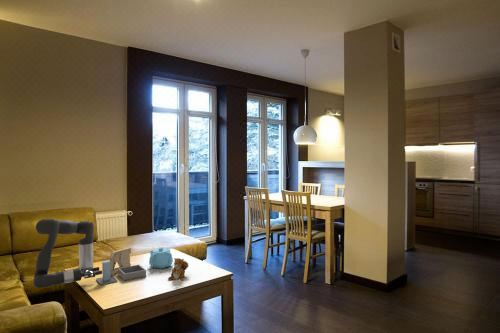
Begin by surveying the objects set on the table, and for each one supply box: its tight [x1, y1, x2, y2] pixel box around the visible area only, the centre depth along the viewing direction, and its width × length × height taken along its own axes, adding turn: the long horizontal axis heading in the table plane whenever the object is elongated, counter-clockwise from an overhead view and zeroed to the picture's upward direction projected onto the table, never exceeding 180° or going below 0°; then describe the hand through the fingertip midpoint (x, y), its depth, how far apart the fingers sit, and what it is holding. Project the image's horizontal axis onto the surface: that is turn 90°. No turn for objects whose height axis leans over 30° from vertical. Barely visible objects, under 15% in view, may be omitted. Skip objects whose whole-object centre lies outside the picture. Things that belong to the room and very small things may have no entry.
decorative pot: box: [148, 247, 174, 270], centre depth 252 cm, size 16×16×14 cm
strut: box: [101, 259, 112, 281], centre depth 223 cm, size 4×4×12 cm
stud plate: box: [96, 275, 118, 286], centre depth 223 cm, size 12×10×4 cm
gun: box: [108, 247, 132, 276], centre depth 245 cm, size 24×3×15 cm, turn 168°
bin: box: [117, 264, 147, 282], centre depth 232 cm, size 15×14×4 cm
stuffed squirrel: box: [167, 257, 189, 281], centre depth 228 cm, size 10×14×13 cm
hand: (100, 270), depth 221 cm, fingers open, 8 cm apart
